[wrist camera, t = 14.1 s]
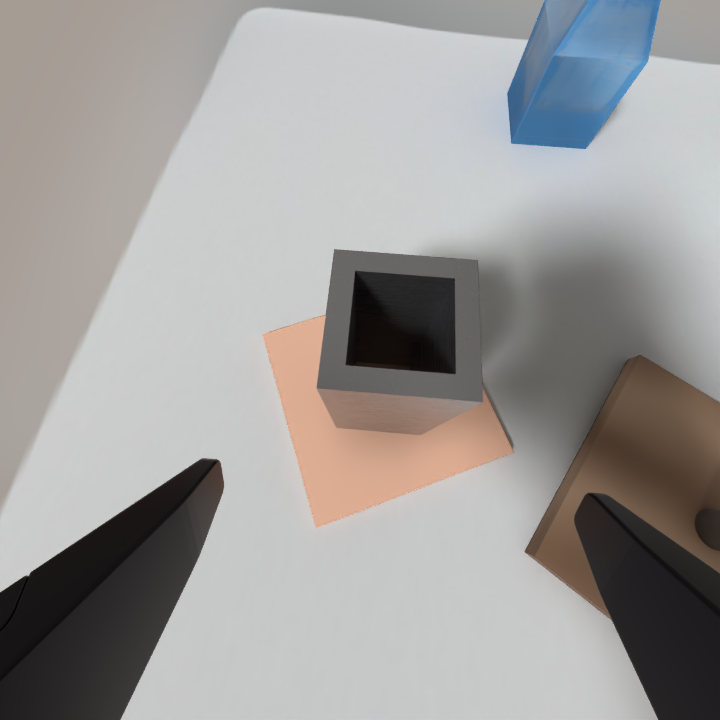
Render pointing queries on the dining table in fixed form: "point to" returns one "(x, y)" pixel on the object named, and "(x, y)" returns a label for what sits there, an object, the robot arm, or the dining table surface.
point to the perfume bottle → (578, 68)
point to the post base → (641, 472)
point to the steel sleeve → (400, 341)
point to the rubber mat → (367, 436)
